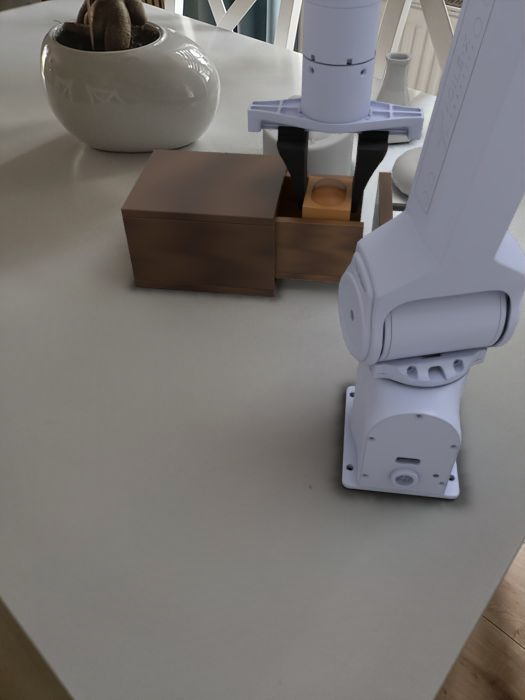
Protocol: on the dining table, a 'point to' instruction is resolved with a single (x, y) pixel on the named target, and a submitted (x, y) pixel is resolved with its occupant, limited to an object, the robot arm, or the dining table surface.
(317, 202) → the block with oval recess
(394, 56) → the flask
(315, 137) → the lumpy-topped squat cylinder
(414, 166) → the donut
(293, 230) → the drawer
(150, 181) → the cabinet
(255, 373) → the dining table surface
